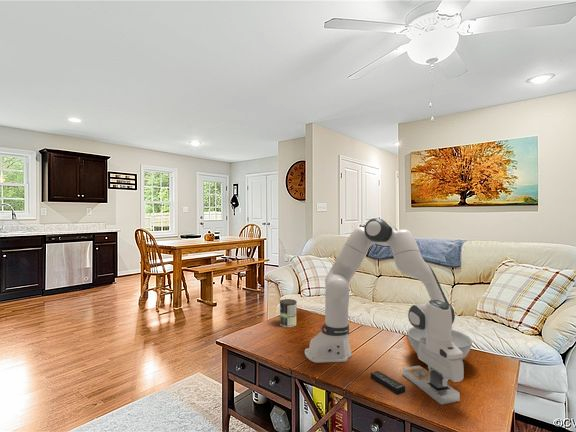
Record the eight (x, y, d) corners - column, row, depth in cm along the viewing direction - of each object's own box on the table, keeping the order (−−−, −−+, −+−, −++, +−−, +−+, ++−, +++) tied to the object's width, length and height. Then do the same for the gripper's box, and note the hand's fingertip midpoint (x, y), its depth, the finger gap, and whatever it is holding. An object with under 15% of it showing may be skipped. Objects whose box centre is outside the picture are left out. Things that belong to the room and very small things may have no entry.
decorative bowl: (464, 354, 158) (465, 329, 157) (478, 381, 132) (479, 351, 132) (406, 346, 166) (406, 323, 166) (408, 371, 140) (408, 342, 140)
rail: (441, 404, 116) (441, 395, 116) (403, 375, 137) (403, 367, 137) (459, 401, 118) (459, 392, 118) (419, 372, 139) (419, 365, 139)
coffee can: (278, 326, 194) (278, 303, 194) (280, 321, 204) (280, 298, 204) (295, 327, 193) (296, 303, 193) (297, 321, 203) (297, 299, 203)
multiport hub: (377, 376, 137) (377, 370, 137) (405, 392, 124) (405, 386, 124) (370, 378, 135) (370, 373, 134) (397, 395, 122) (397, 389, 122)
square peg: (437, 397, 120) (437, 376, 120) (430, 391, 124) (430, 370, 124) (446, 396, 121) (446, 374, 121) (439, 390, 125) (439, 369, 125)
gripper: (413, 335, 131) (413, 369, 132) (452, 357, 112) (452, 397, 112) (426, 334, 133) (426, 367, 133) (467, 355, 113) (466, 394, 114)
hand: (438, 381), depth 122 cm, fingers closed on square peg, 4 cm apart
